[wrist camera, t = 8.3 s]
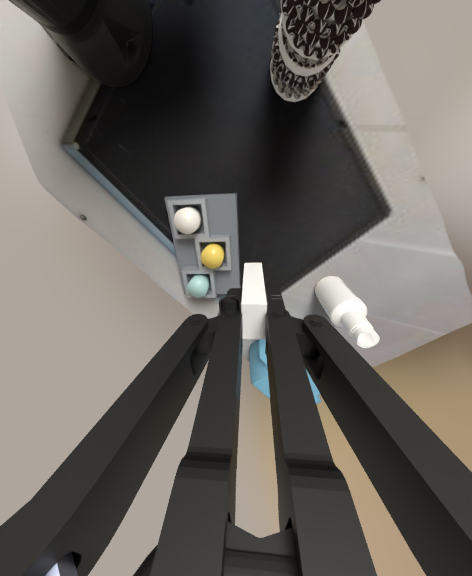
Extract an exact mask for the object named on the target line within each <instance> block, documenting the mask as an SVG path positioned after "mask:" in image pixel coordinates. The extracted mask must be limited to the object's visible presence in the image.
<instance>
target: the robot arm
mask: <svg viewBox="0 0 472 576" xmlns="http://www.w3.org/2000/svg"><path fill="white" fill-rule="evenodd" d="M9 1H10V2H11V3H13V4H14V5H15V6H17V7H18V8H20V9H21V10H22V11H24V12H25V13H26V14H28V15H29V16H30V17H32V18H33V19H34V20H36V21H37V22H38V23H39V24H40V25H41V26H42V27H43V29H44V30H45V31H46V32H47V33H48V35H49V36H50V37H51V38H52V40H53V41H54V42H55V43H56V44H57V46H58V47H59V48H60V50H61V51H62V52H63V53H64V55H65V56H66V57H67V58H68V59H69V60H70V61H71V62H72V63H73V64H74V65H75V66H76V67H77V68H78V69H79V70H80V71H82V72H83V73H85V74H86V75H87V76H89V77H90V78H92V79H93V80H95V81H97V82H98V83H100V84H103V85H105V86H109V87H123V86H127V85H129V84H131V83H132V82H134V81H135V80H136V79H137V78H138V77H139V76H140V74H141V73H142V71H143V70H144V68H145V66H146V64H147V61H148V58H149V55H150V50H151V44H152V16H151V8H150V3H149V0H9ZM219 309H220V315H219V316H217V317H214V318H210V319H207V317H206V316H205V315H202V314H195V315H192V316H189V317H188V318H187V319H186V320H185V321H184V322H183V323H182V325H181V326H180V327H179V328H178V329H177V330H176V332H175V333H174V334H173V335H172V336H171V337H170V338H169V340H168V341H167V342H166V343H165V344H164V345H163V347H162V348H161V349H160V350H159V351H158V352H157V354H156V355H155V356H154V357H153V358H152V359H151V361H150V362H149V363H148V364H147V365H146V366H145V368H144V369H143V370H142V371H141V372H140V373H139V375H138V376H137V377H136V378H135V379H134V380H133V382H132V383H131V384H130V385H129V386H128V387H127V389H126V390H125V391H124V392H123V393H122V394H121V396H120V397H119V398H118V399H117V400H116V401H115V402H114V404H113V405H112V406H111V407H110V408H109V409H108V411H107V412H106V413H105V414H104V415H103V417H102V418H101V419H100V420H99V421H98V422H97V423H96V425H95V426H94V427H93V428H92V429H91V430H90V432H89V433H88V434H87V435H86V436H85V437H84V439H83V440H82V441H81V442H80V443H79V445H78V446H77V447H76V448H75V449H74V450H73V451H72V453H71V454H70V455H69V456H68V457H67V458H66V460H65V461H64V462H63V463H62V464H61V465H60V467H59V468H58V469H57V470H56V471H55V472H54V474H53V475H52V476H51V477H50V478H49V479H48V481H47V482H46V483H45V484H44V485H43V486H42V488H41V489H40V490H39V491H38V492H37V493H36V494H35V496H34V497H33V498H32V499H31V500H30V501H29V502H28V503H27V504H25V505H24V506H23V507H22V508H21V509H20V510H19V511H17V512H16V513H15V514H14V515H13V516H12V517H11V518H9V519H8V520H7V521H6V522H5V523H4V524H3V525H1V526H0V576H88V574H89V573H90V571H91V570H92V569H93V567H94V566H95V564H96V563H97V561H98V560H99V558H100V556H101V555H102V554H103V552H104V550H105V549H106V547H107V546H108V544H109V543H110V541H111V539H112V537H113V536H114V534H115V532H116V531H117V529H118V527H119V525H120V524H121V522H122V520H123V518H124V517H125V515H126V513H127V511H128V509H129V507H130V505H131V504H132V502H133V500H134V498H135V496H136V494H137V492H138V490H139V489H140V487H141V485H142V483H143V481H144V479H145V477H146V475H147V474H148V472H149V470H150V468H151V466H152V464H153V462H154V461H155V458H156V457H157V455H158V453H159V451H160V449H161V448H162V446H163V444H164V442H165V440H166V438H167V436H168V434H169V433H170V430H171V429H172V427H173V425H174V423H175V421H176V419H177V418H178V416H179V414H180V412H181V410H182V408H183V406H184V405H185V403H186V401H187V399H188V397H189V395H190V393H191V392H192V390H193V388H194V386H195V384H196V382H197V380H198V378H199V377H200V375H201V373H202V371H203V369H204V367H205V365H206V363H207V361H208V360H209V362H208V367H207V371H206V375H205V379H204V383H203V388H202V392H201V396H200V400H199V404H198V408H197V413H196V417H195V421H194V425H193V430H192V434H191V438H190V442H189V446H188V450H187V453H186V455H185V456H184V458H182V460H181V462H180V464H179V467H178V469H177V473H176V476H175V480H174V484H173V488H172V492H171V495H170V499H169V503H168V507H167V511H166V515H165V519H164V522H163V526H162V530H161V534H160V538H159V542H158V545H157V546H156V547H155V548H154V549H153V550H152V551H151V553H150V554H149V555H148V556H147V557H146V559H145V560H144V561H143V563H142V564H141V565H140V567H139V568H138V570H137V571H136V572H135V574H134V575H133V576H377V574H376V571H375V568H374V565H373V562H372V559H371V556H370V552H369V549H368V546H367V543H366V540H365V537H364V534H363V531H362V527H361V524H360V521H359V518H358V515H357V512H356V509H355V506H354V503H353V499H352V497H351V493H350V490H349V488H348V485H347V482H346V480H345V478H344V476H343V474H342V473H341V471H340V470H339V469H338V468H337V467H336V466H335V464H334V462H333V459H332V456H331V453H330V450H329V446H328V443H327V439H326V436H325V433H324V429H323V426H322V422H321V419H320V416H319V412H318V409H317V405H316V402H315V399H314V395H313V392H312V388H311V385H310V382H309V378H308V375H307V372H308V373H309V375H310V377H311V379H312V380H313V382H314V384H315V385H316V387H317V389H318V391H319V392H320V394H321V396H322V398H323V399H324V401H325V403H326V404H327V406H328V408H329V410H330V411H331V413H332V415H333V417H334V418H335V420H336V422H337V424H338V425H339V427H340V429H341V430H342V432H343V434H344V436H345V437H346V439H347V441H348V443H349V444H350V446H351V447H352V449H353V451H354V453H355V454H356V456H357V458H358V460H359V462H360V463H361V465H362V466H363V468H364V470H365V472H366V473H367V475H368V477H369V479H370V480H371V482H372V484H373V486H374V487H375V489H376V491H377V492H378V494H379V496H380V498H381V499H382V501H383V503H384V505H385V506H386V508H387V510H388V512H389V513H390V515H391V517H392V518H393V520H394V522H395V524H396V525H397V527H398V529H399V530H400V532H401V534H402V536H403V537H404V539H405V541H406V542H407V544H408V546H409V548H410V550H411V551H412V553H413V554H414V556H415V558H416V559H417V561H418V562H419V564H420V566H421V567H422V569H423V571H424V572H425V574H426V576H472V472H471V471H470V470H469V469H468V468H467V467H466V466H465V465H464V464H463V463H462V462H461V461H460V460H459V459H458V457H457V456H456V455H454V454H453V452H452V451H451V450H450V449H449V448H448V447H447V446H446V445H445V444H444V443H443V442H442V441H441V440H440V439H439V437H438V436H437V435H436V434H435V433H434V432H433V431H432V430H431V429H430V428H429V427H428V426H427V425H426V424H425V423H424V422H423V421H422V420H421V419H420V417H419V416H418V415H417V414H416V413H415V412H414V411H413V410H412V409H411V408H410V407H409V406H408V405H407V404H406V403H405V402H404V401H403V400H402V399H401V398H400V396H399V395H398V394H396V392H395V391H394V390H393V389H392V388H391V387H390V386H389V385H388V384H387V383H386V382H385V381H384V380H383V379H382V377H380V375H379V374H378V373H377V372H376V371H375V370H374V369H373V368H372V367H371V366H370V365H369V364H368V363H367V362H366V361H365V360H364V359H363V357H362V356H361V355H360V354H359V353H358V352H357V351H356V350H355V349H354V348H353V347H352V346H351V345H350V344H349V343H348V342H347V341H346V340H345V339H344V337H343V336H342V335H341V334H340V333H339V332H338V331H337V330H336V329H335V328H334V327H333V326H332V325H331V324H330V323H329V322H328V321H327V320H326V319H325V318H323V317H321V316H318V315H307V316H306V317H304V320H302V319H297V318H294V317H292V316H290V314H289V312H288V311H287V310H285V306H284V302H283V299H282V296H281V292H280V290H279V289H278V288H265V286H264V278H263V271H262V263H245V264H244V276H243V288H230V289H229V290H228V291H227V295H226V297H224V298H222V299H221V300H220V301H219ZM265 336H266V345H265V354H266V357H267V369H268V380H269V392H270V403H271V414H272V426H273V436H274V437H273V438H274V449H275V461H276V473H277V484H278V509H279V526H280V532H279V533H276V534H273V535H270V536H267V537H264V538H258V537H255V536H254V535H251V534H250V533H248V532H246V531H244V530H243V529H241V528H239V527H237V526H235V497H236V496H235V494H236V493H235V492H236V469H237V447H238V427H239V407H240V385H241V366H242V346H243V344H242V339H265ZM306 370H307V371H306Z"/></svg>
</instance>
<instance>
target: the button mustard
mask: <svg viewBox="0 0 472 576" xmlns="http://www.w3.org/2000/svg"><path fill="white" fill-rule="evenodd" d="M224 256H225V249H224V247H223V245H222V244H220V243H218V242H211V243H209V244H208V245H207V246H206V247H205V249H204V250H203V251H202V253H201V261H202V263H203V264H204V265H205V266H206V267H208V268H212V269H213V268H217V267H219V266H220V265H221V264H222V261H223V259H224Z"/></svg>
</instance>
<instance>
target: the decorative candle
mask: <svg viewBox="0 0 472 576" xmlns="http://www.w3.org/2000/svg"><path fill="white" fill-rule="evenodd" d="M380 1H381V0H281V9H280V14H279V15H280V18H279V21H278V22H277V24H276V28H275V35H274V42H273V46H272V53H271V64H270V71H271V82H272V84H273V86H274V88H275V91H276V93H277V94H278V95H279V96H280V97H282V98H283V99H284V100H286V101H290V102H297V101H300V100H303V99H305V98H307V97H308V96H309V95H310V94H311V93H312V92H314V91H315V89H316V88H317V87H318V84H320V83H321V82H322V79H323V78H324V77H325V75H326V73H327V72H328V71H329V69H330V68H331V66H332V64H333V63H334V60H335V59H336V58H337V57H338V56H339V53H340V48H341V47H342V46H343V45H344V44H345V43H346V42H347V41H348V40H349V39H350V37H351V36H352V34H354V33H355V32H357V31H358V30H359V28H360V27H361V23H362V19H365V18H367V17H368V16H369V15H370V14H371V12H372V10H373V7H374V4H376V3H378V2H380Z"/></svg>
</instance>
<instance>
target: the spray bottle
mask: <svg viewBox="0 0 472 576" xmlns="http://www.w3.org/2000/svg"><path fill="white" fill-rule="evenodd" d="M315 294H316V296H317V298H318V299H319V301H320V303H321V305H322V306H323V308H324V310H325V311H326V313H327V315H328V316H329V318H330V320H331V321H332V323H333V324H334V325H336V326H338V327H341V328H345V329H346V330H347V332H348V333H349V335H350V336H351V338H353V339H354V340H355V341H356V343H357V344H358V346H360V347H362V348H369V347H372V346H374V345H376V344H377V343H378V342H379V336H378V334H377V333H376V332H375V331H374V329H373V327H372V325H371V324H370V323H369V322H368V320H367V319H366V315H367V307H366V306H365V304H364V303H363V302H362V301H361V300H360V299H359V298H358V297H357V296H356V295H355V294H354V293H353V291H352V290H351V289H350V288H349V287H348V286H347V285H346V284H345V283H344V282H343V281H342V280H341V279H340V278H338V277H335V276H328V277H325V278H323V279H321V280H320V281H319V282H318V283H317V284H316V286H315Z"/></svg>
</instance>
